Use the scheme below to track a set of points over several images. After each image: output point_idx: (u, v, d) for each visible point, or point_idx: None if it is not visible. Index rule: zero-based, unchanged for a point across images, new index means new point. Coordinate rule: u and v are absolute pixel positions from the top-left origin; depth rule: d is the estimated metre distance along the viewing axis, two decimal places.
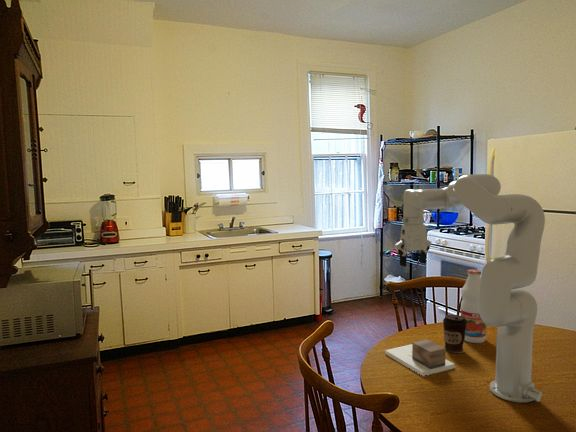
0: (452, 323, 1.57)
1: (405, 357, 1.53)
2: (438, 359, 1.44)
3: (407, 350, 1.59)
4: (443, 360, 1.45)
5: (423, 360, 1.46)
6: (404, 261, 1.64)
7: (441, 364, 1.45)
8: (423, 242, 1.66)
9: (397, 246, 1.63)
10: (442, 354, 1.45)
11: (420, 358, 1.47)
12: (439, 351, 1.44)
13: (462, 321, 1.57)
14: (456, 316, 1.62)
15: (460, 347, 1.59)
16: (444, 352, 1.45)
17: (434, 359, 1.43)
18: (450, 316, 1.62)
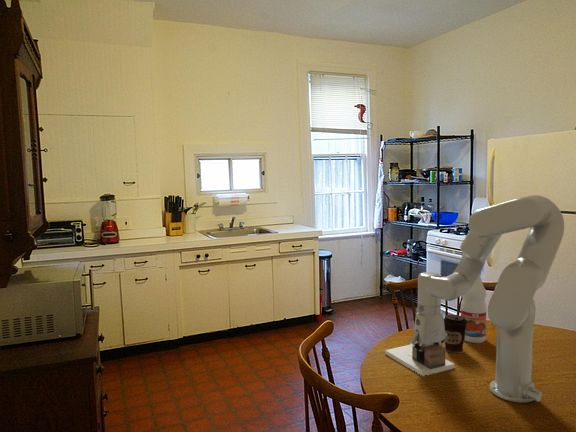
0: (452, 323, 1.57)
1: (405, 357, 1.53)
2: (438, 359, 1.44)
3: (407, 350, 1.59)
4: (443, 360, 1.45)
5: None
6: (422, 357, 1.46)
7: (441, 363, 1.45)
8: (440, 333, 1.46)
9: (413, 342, 1.44)
10: (442, 354, 1.45)
11: None
12: (439, 351, 1.44)
13: (462, 321, 1.57)
14: (456, 316, 1.62)
15: (460, 347, 1.59)
16: (444, 352, 1.45)
17: (433, 359, 1.43)
18: (450, 316, 1.62)
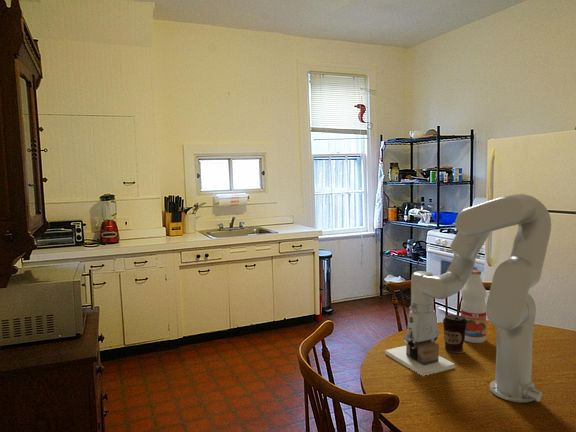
0: (452, 323, 1.57)
1: (405, 357, 1.53)
2: (431, 355, 1.47)
3: None
4: (436, 356, 1.48)
5: (417, 356, 1.49)
6: (415, 354, 1.49)
7: (434, 360, 1.48)
8: (433, 331, 1.49)
9: (406, 339, 1.47)
10: (435, 350, 1.48)
11: None
12: (432, 348, 1.47)
13: (462, 321, 1.57)
14: (456, 316, 1.62)
15: (460, 347, 1.59)
16: (437, 348, 1.48)
17: (427, 355, 1.46)
18: (450, 316, 1.62)
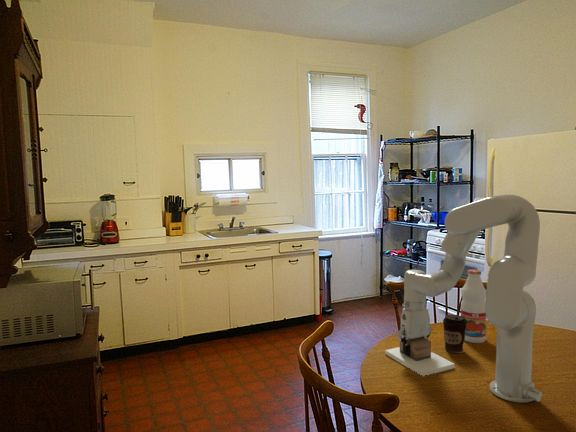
0: (452, 323, 1.57)
1: (405, 357, 1.53)
2: (423, 351, 1.50)
3: None
4: (429, 352, 1.51)
5: None
6: (408, 350, 1.52)
7: (426, 356, 1.51)
8: (425, 328, 1.53)
9: (399, 336, 1.51)
10: (428, 347, 1.51)
11: None
12: (425, 344, 1.50)
13: (462, 321, 1.57)
14: (456, 316, 1.62)
15: (460, 347, 1.59)
16: (430, 345, 1.51)
17: (419, 351, 1.50)
18: (450, 316, 1.62)
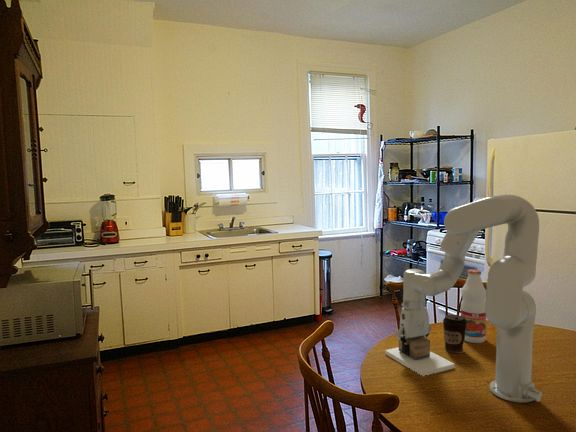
0: (452, 323, 1.57)
1: (405, 357, 1.53)
2: (422, 350, 1.51)
3: None
4: (428, 351, 1.52)
5: (409, 351, 1.53)
6: (407, 350, 1.52)
7: (426, 355, 1.52)
8: (425, 327, 1.53)
9: (398, 335, 1.51)
10: (427, 346, 1.51)
11: None
12: (424, 343, 1.51)
13: (462, 321, 1.57)
14: (456, 316, 1.62)
15: (460, 347, 1.59)
16: (429, 344, 1.52)
17: (418, 350, 1.50)
18: (450, 316, 1.62)
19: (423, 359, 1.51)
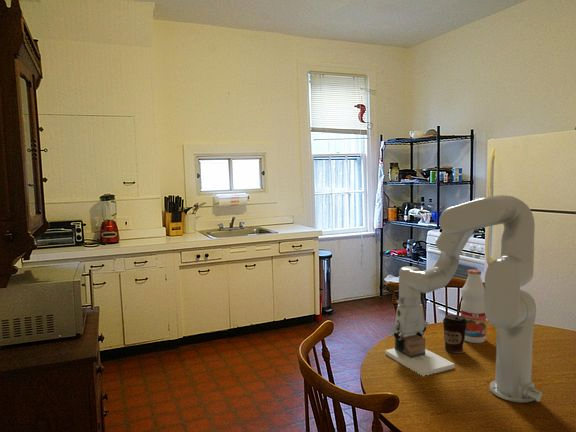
0: (452, 323, 1.57)
1: (405, 357, 1.53)
2: (418, 348, 1.53)
3: None
4: (423, 349, 1.54)
5: (404, 350, 1.55)
6: (401, 345, 1.54)
7: (421, 353, 1.54)
8: (420, 323, 1.55)
9: (393, 330, 1.53)
10: (422, 344, 1.54)
11: None
12: (419, 341, 1.53)
13: (462, 321, 1.57)
14: (456, 316, 1.62)
15: (460, 347, 1.59)
16: (424, 342, 1.54)
17: (414, 348, 1.52)
18: (450, 316, 1.62)
19: (423, 359, 1.51)
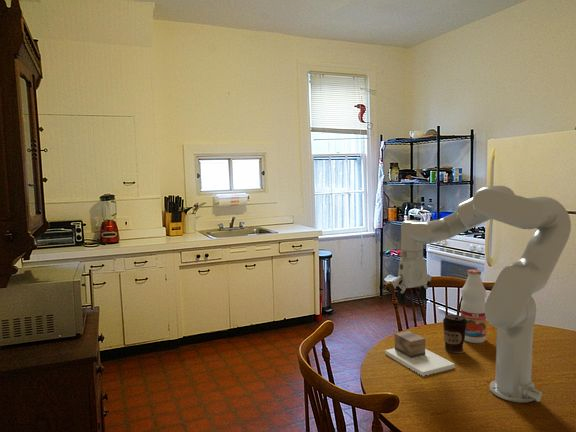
0: (452, 323, 1.57)
1: (405, 357, 1.53)
2: (418, 348, 1.53)
3: None
4: (423, 349, 1.54)
5: (404, 350, 1.55)
6: (403, 298, 1.52)
7: (421, 353, 1.54)
8: (423, 277, 1.53)
9: (395, 282, 1.51)
10: (422, 344, 1.54)
11: (401, 348, 1.56)
12: (419, 341, 1.53)
13: (462, 321, 1.57)
14: (456, 316, 1.62)
15: (460, 347, 1.59)
16: (424, 342, 1.54)
17: (414, 348, 1.52)
18: (450, 316, 1.62)
19: (423, 359, 1.51)
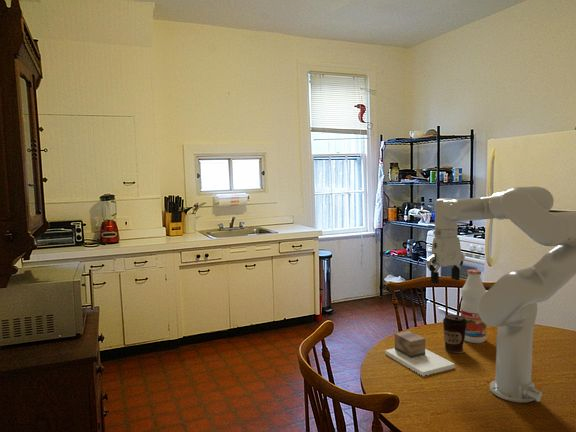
0: (452, 323, 1.57)
1: (405, 357, 1.53)
2: (418, 348, 1.53)
3: None
4: (423, 349, 1.54)
5: (404, 350, 1.55)
6: (436, 277, 1.49)
7: (421, 353, 1.54)
8: (457, 256, 1.51)
9: (429, 261, 1.48)
10: (422, 344, 1.54)
11: (401, 348, 1.56)
12: (419, 341, 1.53)
13: (462, 321, 1.57)
14: (456, 316, 1.62)
15: (460, 347, 1.59)
16: (424, 342, 1.54)
17: (414, 348, 1.52)
18: (450, 316, 1.62)
19: (423, 359, 1.51)
